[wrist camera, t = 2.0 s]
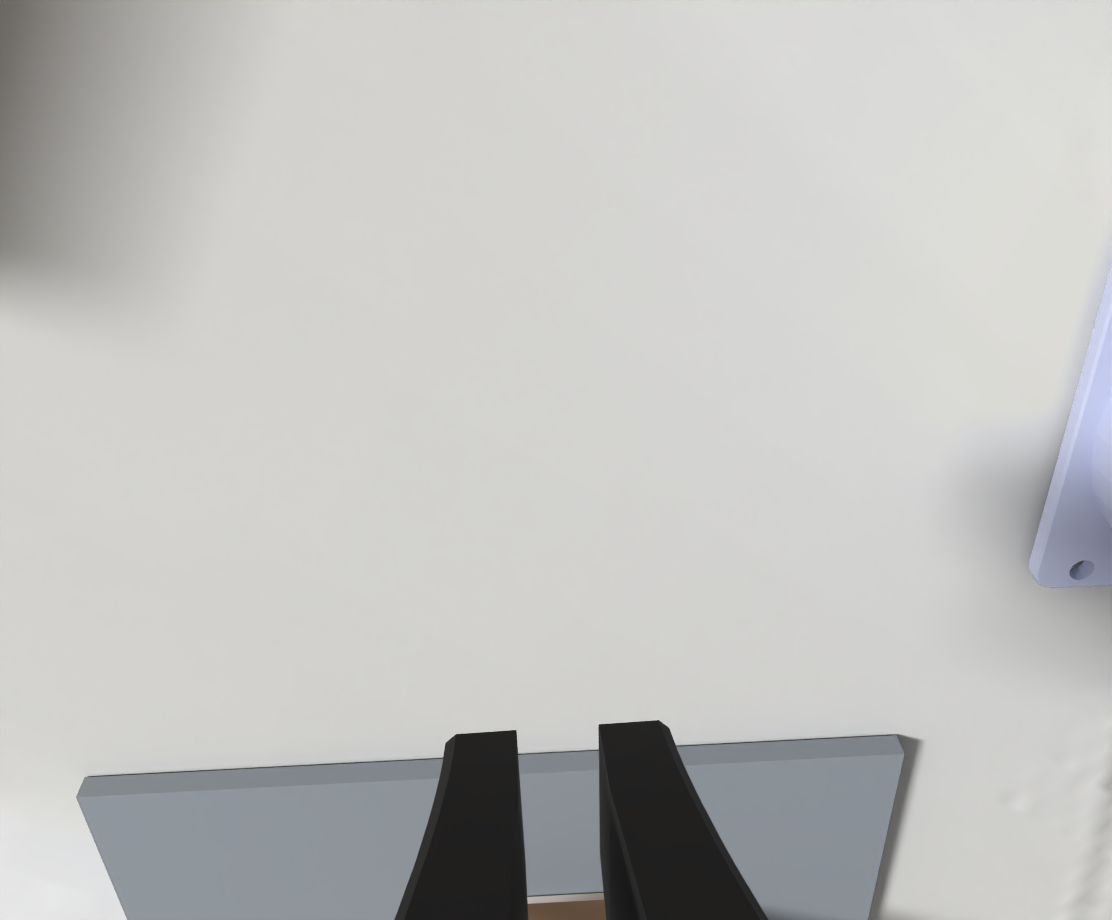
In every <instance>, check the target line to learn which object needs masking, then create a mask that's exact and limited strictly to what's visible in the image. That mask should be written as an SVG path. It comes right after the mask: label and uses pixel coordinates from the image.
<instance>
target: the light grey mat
mask: <svg viewBox="0 0 1112 920" xmlns="http://www.w3.org/2000/svg"><path fill="white" fill-rule="evenodd" d="M676 748H677V750H678V752H679V755H680V757H681V759H682V762H683V764H684V766H685V768H686V771H687V773H688V775H689V777H690V779H691V781H692V783H693V786H694V788H695V790H696V792H697V794H698V796H699V798H700V800H701V802H702V804H703V806H704V808H705V809H706V811H707V813H708V815H709V817H710V819H711V821H712V823H713V825H714V827H715V828H716V830H717V832H718V834H719V836H720V838H721V840H722V842H723V843H724V845H725V847H726V849H727V851H728V852H729V854H730V856H731V858H732V859H733V861H734V863H735V865H736V866H737V868H738V870H739V871H740V873H741V875H742V876H743V878H744V880H745V881H746V883H747V885H748V886H749V888H750V890H751V891H752V893H753V895H754V896H755V898H756V900H757V902H758V903H759V905H760V907H761V908H762V910H763V912H764V913H765V915H766V917H767V918H768V920H868V917H869V912H870V908H871V903H872V899H873V894H874V890H875V885H876V881H877V876H878V872H879V867H880V863H881V858H882V854H883V849H884V845H885V840H886V835H887V831H888V826H889V822H890V817H891V813H892V808H893V804H894V799H895V795H896V790H897V786H898V781H899V777H900V772H901V768H902V763H903V759H904V751H903V749H902V747H901V744H900V742H899V740H898V737H897V735H890V736H871V737H852V738H832V739H813V740H794V741H775V742H755V743H736V744H717V745H698V746H678V747H676ZM518 761H519V775H520V789H521V804H522V818H523V832H524V846H525V860H526V880H527V897H537V896H555V895H573V894H592V893H604V892H603V882H602V871H601V861H600V818H599V751H582V752H563V753H544V754H524V755H518ZM442 763H443V759H428V760H409V761H390V762H370V763H351V764H332V765H313V766H293V767H274V768H255V769H236V770H216V771H197V772H178V773H159V774H139V775H120V776H101V777H85V778H84V780H83V783H82V785H81V787H80V789H79V792H78V794H77V796H76V798H77V801H78V803H79V805H80V808H81V810H82V813H83V815H84V817H85V820H86V822H87V824H88V827H89V829H90V832H91V834H92V836H93V839H94V841H95V844H96V846H97V848H98V851H99V853H100V856H101V858H102V860H103V863H104V865H105V867H106V870H107V872H108V875H109V877H110V879H111V882H112V884H113V887H114V889H115V891H116V894H117V896H118V899H119V901H120V903H121V906H122V908H123V910H124V913H125V915H126V918H127V920H394V919H395V917H396V914H397V911H398V908H399V906H400V903H401V900H402V897H403V895H404V892H405V889H406V886H407V884H408V881H409V878H410V875H411V873H412V870H413V867H414V864H415V861H416V858H417V855H418V852H419V849H420V846H421V842H422V839H423V836H424V833H425V830H426V827H427V823H428V820H429V816H430V813H431V809H432V806H433V802H434V798H435V794H436V790H437V786H438V782H439V777H440V773H441V768H442Z"/></svg>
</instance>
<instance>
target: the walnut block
mask: <svg viewBox="0 0 1112 920" xmlns="http://www.w3.org/2000/svg"><path fill="white" fill-rule="evenodd" d="M527 900H528V920H606V912H605V902H604V893H592V894H573V895H555V896H537V897H527Z"/></svg>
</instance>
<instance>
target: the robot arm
mask: <svg viewBox="0 0 1112 920" xmlns="http://www.w3.org/2000/svg"><path fill="white" fill-rule="evenodd" d="M1080 561H1084V562H1083V563H1082V564H1080V565H1079V566H1078V567H1075V568H1072V566H1073V565H1075V564H1076V563H1078V562H1080ZM1029 570H1030V572H1031V574H1032V575H1033V577H1034V578H1035V580H1036V581H1037V583H1038V584H1040V585H1042V586H1043V587H1049V588H1062V587H1082V586H1103V585H1112V263H1111V267H1110V271H1109V274H1108V278H1107V282H1106V285H1105V289H1104V292H1103V296H1102V300H1101V303H1100V307H1099V311H1098V314H1097V318H1096V321H1095V325H1094V329H1093V332H1092V336H1091V340H1090V343H1089V347H1088V350H1087V354H1086V358H1085V361H1084V365H1083V369H1082V372H1081V376H1080V379H1079V383H1078V387H1077V390H1076V394H1075V398H1074V401H1073V405H1072V408H1071V412H1070V416H1069V419H1068V423H1067V427H1066V430H1065V434H1064V437H1063V441H1062V445H1061V448H1060V452H1059V456H1058V459H1057V463H1056V466H1055V470H1054V474H1053V477H1052V481H1051V485H1050V488H1049V492H1048V495H1047V499H1046V503H1045V506H1044V510H1043V514H1042V517H1041V521H1040V524H1039V528H1038V532H1037V535H1036V539H1035V543H1034V546H1033V550H1032V554H1031V557H1030V561H1029ZM599 818H600V861H601V871H602V882H603V892H604V902H605V912H606V920H768V918H767V917H766V915H765V913H764V912H763V910H762V908H761V907H760V905H759V903H758V902H757V900H756V898H755V896H754V895H753V893H752V891H751V890H750V888H749V886H748V885H747V883H746V881H745V880H744V878H743V876H742V875H741V873H740V871H739V870H738V868H737V866H736V865H735V863H734V861H733V859H732V858H731V856H730V854H729V852H728V851H727V849H726V847H725V845H724V843H723V842H722V840H721V838H720V836H719V834H718V832H717V830H716V828H715V827H714V825H713V823H712V821H711V819H710V817H709V815H708V813H707V811H706V809H705V808H704V806H703V804H702V802H701V800H700V798H699V796H698V794H697V792H696V790H695V788H694V786H693V783H692V781H691V779H690V777H689V775H688V773H687V771H686V768H685V766H684V764H683V762H682V759H681V757H680V755H679V752H678V750H677V748H676V745H675V743H674V740H673V737H672V735H671V732H670V729H669V728H668V727H667V726H666V725H664V724H663V723H662V722H660V721H659V720H657V721H642V722H628V723H614V724H599ZM394 920H528V900H527V880H526V860H525V846H524V832H523V818H522V804H521V789H520V775H519V761H518V747H517V733H516V730H512V731H498V732H483V733H469V734H456V735H455V736H454V737H452V738H451V739H450V740H449V741H448V742H446V744H445V751H444V757H443V763H442V768H441V773H440V777H439V782H438V786H437V790H436V794H435V798H434V802H433V806H432V809H431V813H430V816H429V820H428V823H427V827H426V830H425V833H424V836H423V839H422V842H421V846H420V849H419V852H418V855H417V858H416V861H415V864H414V867H413V870H412V873H411V875H410V878H409V881H408V884H407V886H406V889H405V892H404V895H403V897H402V900H401V903H400V906H399V908H398V911H397V914H396V917H395V919H394Z"/></svg>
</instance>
